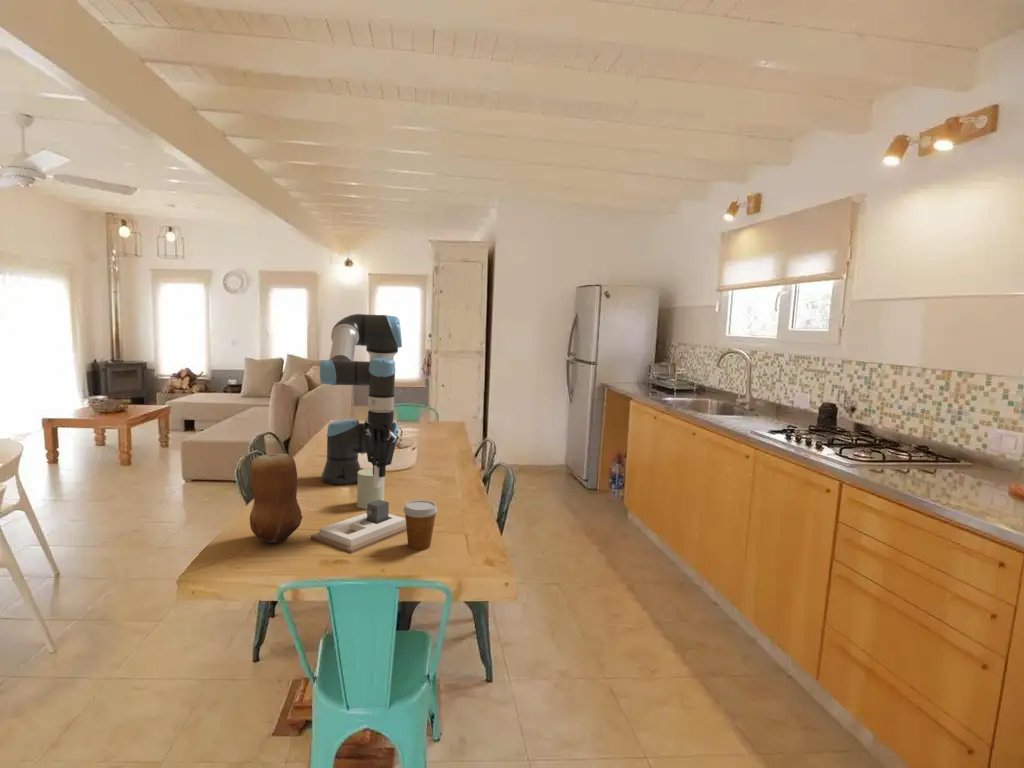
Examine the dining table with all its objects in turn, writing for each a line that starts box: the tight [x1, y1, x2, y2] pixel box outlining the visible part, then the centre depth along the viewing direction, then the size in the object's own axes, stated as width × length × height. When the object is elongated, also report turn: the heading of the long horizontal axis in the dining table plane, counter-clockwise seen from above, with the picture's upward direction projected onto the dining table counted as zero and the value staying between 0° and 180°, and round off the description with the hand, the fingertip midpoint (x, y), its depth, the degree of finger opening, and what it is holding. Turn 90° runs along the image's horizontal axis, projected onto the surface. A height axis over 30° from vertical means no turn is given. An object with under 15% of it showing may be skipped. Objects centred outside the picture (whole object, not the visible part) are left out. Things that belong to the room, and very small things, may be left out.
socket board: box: [310, 512, 407, 554], centre depth 172 cm, size 17×25×3 cm
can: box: [356, 468, 386, 510], centre depth 196 cm, size 9×9×12 cm
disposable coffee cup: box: [403, 499, 438, 551], centre depth 164 cm, size 10×10×12 cm
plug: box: [365, 500, 390, 524], centre depth 175 cm, size 4×7×7 cm, turn 149°
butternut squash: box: [249, 452, 303, 543], centre depth 161 cm, size 14×13×25 cm
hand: (378, 486), depth 176 cm, fingers closed
